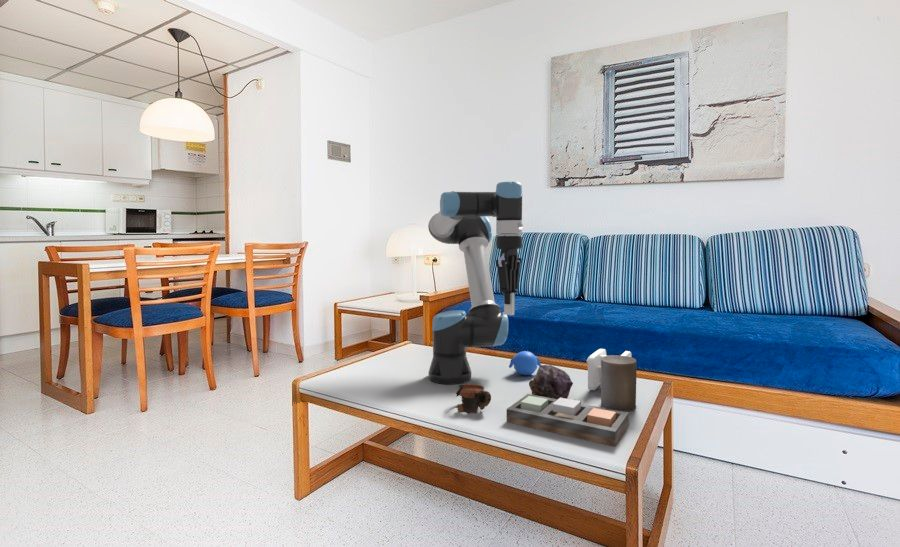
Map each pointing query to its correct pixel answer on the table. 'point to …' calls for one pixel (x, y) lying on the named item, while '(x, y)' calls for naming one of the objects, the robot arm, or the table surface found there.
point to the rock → (551, 382)
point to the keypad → (569, 422)
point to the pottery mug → (472, 398)
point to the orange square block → (601, 417)
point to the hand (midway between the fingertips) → (509, 314)
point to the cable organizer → (597, 367)
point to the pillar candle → (618, 382)
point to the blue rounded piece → (525, 363)
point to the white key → (566, 406)
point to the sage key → (534, 404)
